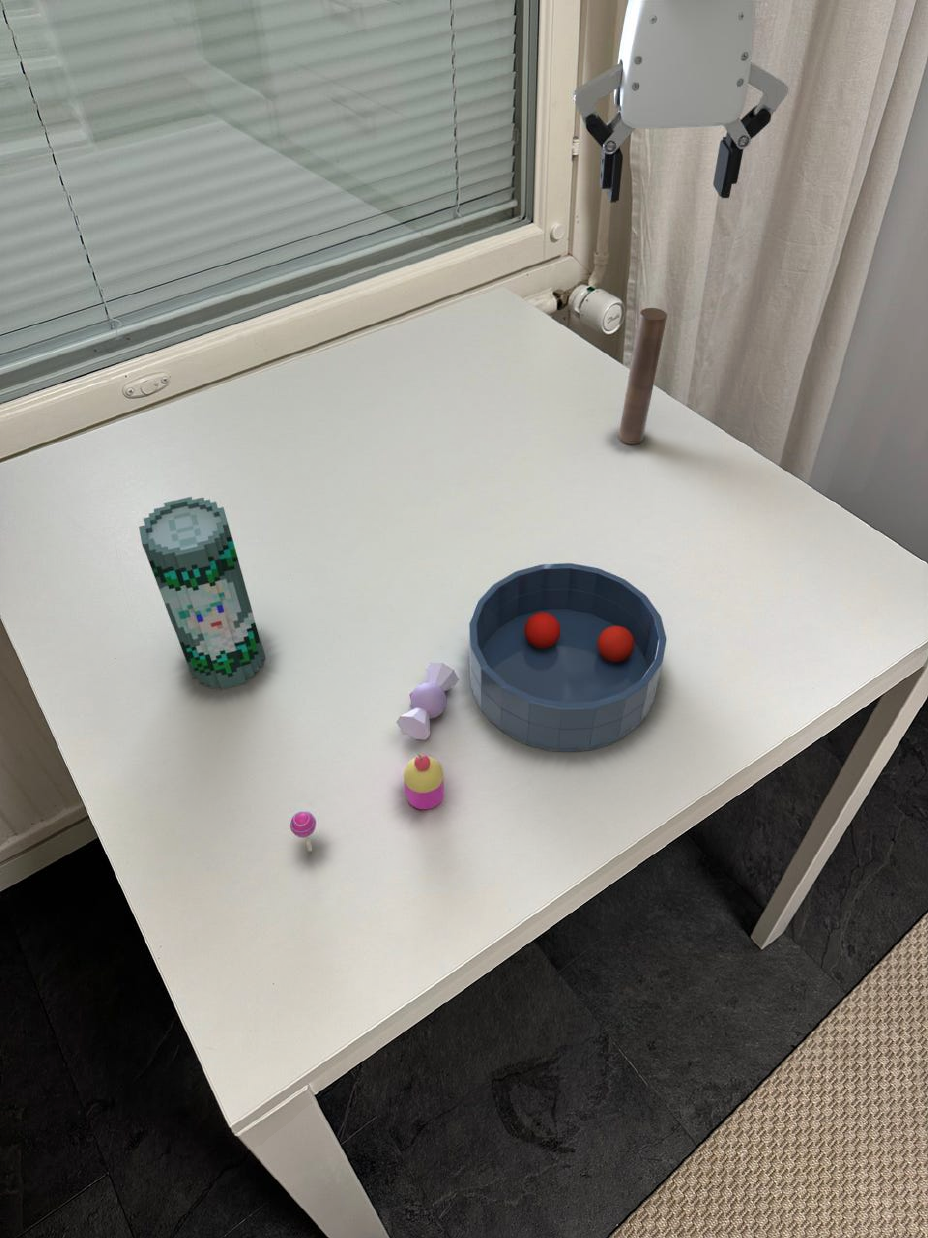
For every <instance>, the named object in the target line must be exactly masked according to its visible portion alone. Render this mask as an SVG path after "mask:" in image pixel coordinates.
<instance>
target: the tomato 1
mask: <svg viewBox="0 0 928 1238" xmlns="http://www.w3.org/2000/svg"><path fill="white" fill-rule="evenodd" d="M524 633H525V637H526V639H527V641H528V642H529V643H530V644H531V645H533V646H534V647H537V648H548V647H550V646H552V645H554V644H555V643H556V642H557V640H558V638H559V636H560V625H559V623H558V621H557V619H556V618H555V617H554V616H552V615H551V614H548V613H543V612H542V613H536V614H534V615H532V616H531V617H530V618H529V619H528V620H527V622H526V624H525V628H524Z"/></svg>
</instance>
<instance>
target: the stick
mask: <svg viewBox="0 0 928 1238" xmlns="http://www.w3.org/2000/svg"><path fill="white" fill-rule="evenodd" d="M667 320H668V313H667V312H666V311H665V310H663V309H661V308H656V307H646V308H643V309H641V310H640V311H639V317H638V322H637V328H636V333H635V338H634V339H635V340H634V345H633V350H632V356H631V363H630V367H629V374H628V379H627V386H626V391H625V398H624V402H623V408H622V414H621V419H620V426H619V429H618V430H619V431H618V438H619V440H620V442H623V443H625V444H629V445H637V444H639V443H641V442H642V441H643V439H644V435H645V431H646V424H647V420H648V415H649V410H650V405H651V400H652V394H653V389H654V385H655V379H656V375H657V370H658V364H659V360H660V354H661V349H662V345H663V341H664V340H663V339H664V336H665V335H664V334H665V329H666V325H667Z"/></svg>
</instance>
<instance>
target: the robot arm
mask: <svg viewBox="0 0 928 1238" xmlns="http://www.w3.org/2000/svg"><path fill="white" fill-rule="evenodd" d="M755 19H756V0H628V2H627V5H626V10H625V15H624V19H623V20H624V21H623V25H622V32H621V37H620V44H619V51H618V59H617V64H615V65H614V66H611V67H610V68H609V69H607V70H605V71H604V72H602V73H601V74H599V75H597V76H596V77H594V78H591V79H590V80H589V81H587V82H585V83H583V84H582V85H580V86H579V87H577V88H576V89H575V90H574V91H573V95H572V97H573V100H574V102H575V103H574V104H575V105H576V107H577V110H578V112H579V114H580V117H581V119H582V123H583V124H584V126H585V129H586V131H587V132H588V133H589V134H590V135H591V137H592V138H593V139H594V140H595V141H596V142H597V144H598V145H599V146H600V147H601V148H602V150H601V161H600V171H599V187H600V190H605V193H606V196H607V199H608V201H609V203H610V204H614V203H617V202H618V201H619V200H620V192H621V180H622V173H623V172H622V171H623V161H624V155H623V152H622V150H621V146H622V145H623V144H624V142H626V140H627V139H628V138H629V137H630V135H632V133H633V132H634V131H635V130H637V129H638V130H652V129H653V130H657V129H682V128H683V129H684V128H685V129H687V128H705V127H706V128H707V127H721V126H723V127H724V129H725V130H726V134H725V136H723V137H722V139H721V140H720V142H719V146H718V147H719V148H718V154H717V160H716V164H715V171H714V175H713V176H714V177H713V183H712V184H713V187H714V189H715V191H716V193H717V194H718V196H719V197H721V199H729V198H730V195H731V191H732V185H736V184H737V183H738V180H739V175H740V170H741V166H742V165H741V164H742V161H743V160H742V159H743V153H744V150H745V149H746V148H748V147H749V146H750V144H751V141H752V139H754V138H755V137H756V136H757V135H758V134H759V133H760V132H761V131H762V130H763V129H764V128H765V127H766V126H768V124H769V123H771V120H772V116H773V114H774V113H776V112H777V110H778V108H779V106H780V105H781V104H782V102H783V101H784V99H785V98H786V96H787V94H788V92H789V88H788V86H787V84H786V83H784V81H783V80H781V78H779V77H777V76H775V75H773V74H772V73H771V72H769V71H767V70H766V69H764V68H763V67H761V66H759V65H757V63H754V62H753V61H752V57H753V55H752V54H753V47H754V46H753V45H754V35H755ZM749 85H750V86H752V87H753V88H755V89H757V90H759V91H760V92H762V95H761V98H760V99H759V102H758V103H757V104H756V105H755V106H754V107H753V108H751V109H750V111H748V113H746V114H745V115H743V117H742V118H741V119H740V117H741V115H742V113H743V111H744V107H745V103H746V99H747V95H748V94H747V93H748V89H749V88H748V87H749ZM612 92H613V103H614V107H615V108H616V109H617V111H616V112H615V113H614V114H613V115H612V116H611V117H610V119H609V120H608V121H607V122H604V120H603V119H602V118H601V116H599V114H598V113H597V111H596V106H595V105H596V103H597V101H599V100H601V98H603V97H605V96H607V95H608V94H610V93H612Z"/></svg>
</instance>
